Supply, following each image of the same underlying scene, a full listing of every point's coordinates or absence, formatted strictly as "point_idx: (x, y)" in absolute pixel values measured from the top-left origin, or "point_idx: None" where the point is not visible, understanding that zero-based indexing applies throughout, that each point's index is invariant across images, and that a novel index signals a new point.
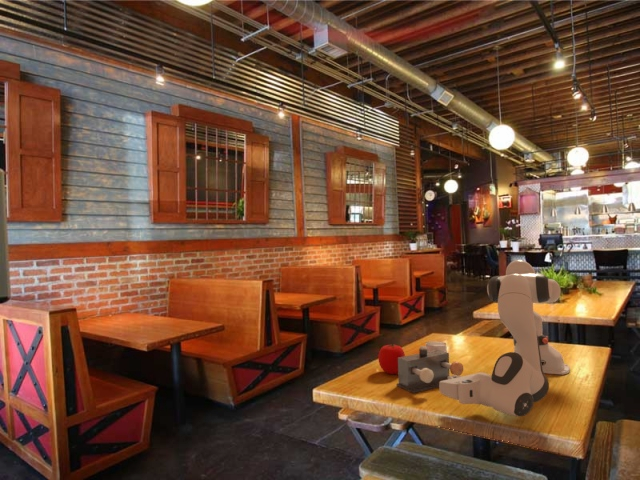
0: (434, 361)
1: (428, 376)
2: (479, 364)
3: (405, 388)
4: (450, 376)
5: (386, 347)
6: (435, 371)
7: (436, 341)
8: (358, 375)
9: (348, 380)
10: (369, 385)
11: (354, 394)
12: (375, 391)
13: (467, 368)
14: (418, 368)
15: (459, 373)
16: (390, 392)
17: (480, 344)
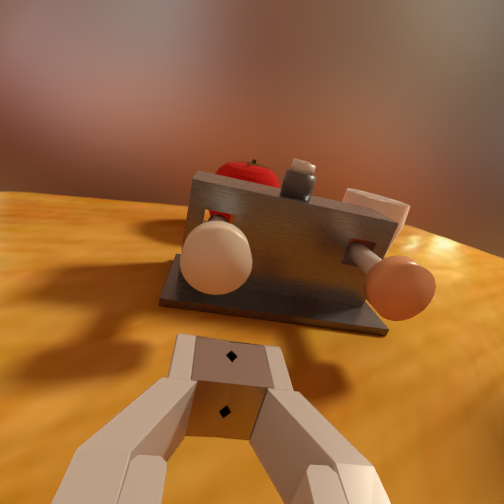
0: (323, 229)
1: (216, 265)
2: (482, 302)
3: (168, 276)
4: (197, 349)
5: (233, 162)
6: (314, 266)
7: (385, 197)
8: (158, 210)
9: (111, 207)
10: (116, 230)
11: (6, 228)
12: (80, 246)
13: (442, 299)
14: (241, 227)
15: (400, 313)
16: (106, 267)
17: (489, 264)
